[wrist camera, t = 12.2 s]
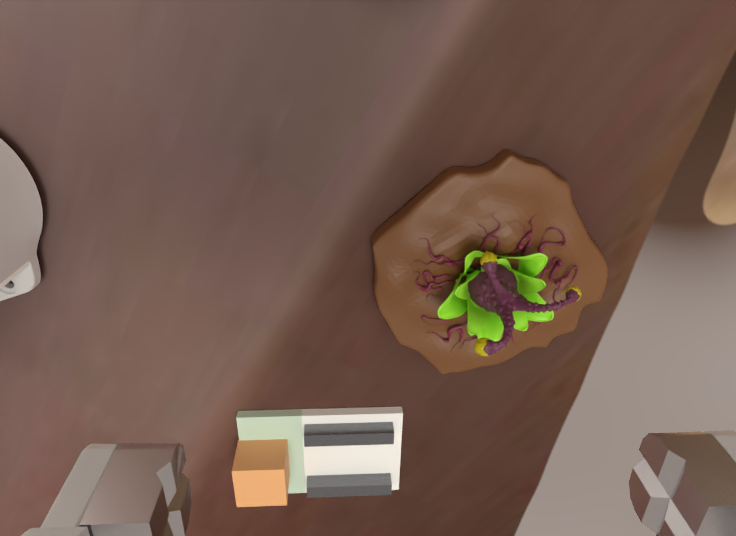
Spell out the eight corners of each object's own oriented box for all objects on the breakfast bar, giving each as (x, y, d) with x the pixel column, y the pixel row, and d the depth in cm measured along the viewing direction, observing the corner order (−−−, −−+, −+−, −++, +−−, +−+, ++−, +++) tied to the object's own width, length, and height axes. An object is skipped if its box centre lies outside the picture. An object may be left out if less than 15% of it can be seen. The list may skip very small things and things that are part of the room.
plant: (329, 237, 48) (327, 302, 38) (532, 115, 44) (589, 153, 34) (437, 386, 57) (459, 472, 47) (616, 295, 53) (682, 368, 43)
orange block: (287, 438, 57) (284, 469, 53) (289, 473, 59) (287, 505, 56) (238, 440, 57) (231, 471, 53) (242, 475, 59) (236, 507, 55)
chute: (401, 406, 57) (404, 424, 55) (397, 482, 62) (400, 501, 60) (237, 410, 56) (233, 429, 54) (247, 487, 61) (243, 507, 59)
